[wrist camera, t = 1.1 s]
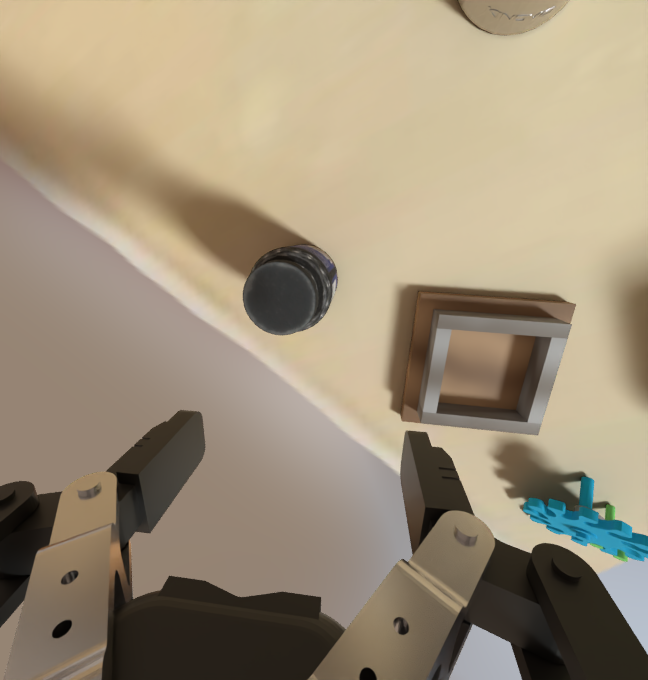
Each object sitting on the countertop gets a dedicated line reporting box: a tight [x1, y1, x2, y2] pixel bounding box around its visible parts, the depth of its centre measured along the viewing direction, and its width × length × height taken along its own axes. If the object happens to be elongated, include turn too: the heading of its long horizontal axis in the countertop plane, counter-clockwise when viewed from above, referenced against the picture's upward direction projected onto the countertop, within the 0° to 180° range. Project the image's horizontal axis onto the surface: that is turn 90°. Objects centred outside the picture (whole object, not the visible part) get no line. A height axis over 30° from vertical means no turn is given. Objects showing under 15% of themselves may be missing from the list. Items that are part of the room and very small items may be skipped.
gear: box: [523, 477, 648, 562], centre depth 32 cm, size 11×6×10 cm
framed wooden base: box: [401, 291, 576, 435], centre depth 29 cm, size 13×13×3 cm
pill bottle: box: [243, 244, 338, 335], centre depth 25 cm, size 6×6×11 cm
